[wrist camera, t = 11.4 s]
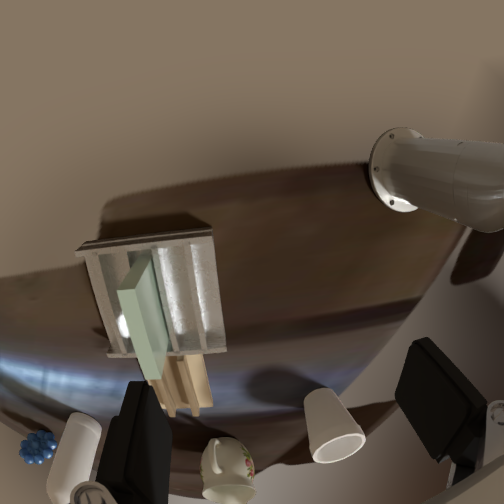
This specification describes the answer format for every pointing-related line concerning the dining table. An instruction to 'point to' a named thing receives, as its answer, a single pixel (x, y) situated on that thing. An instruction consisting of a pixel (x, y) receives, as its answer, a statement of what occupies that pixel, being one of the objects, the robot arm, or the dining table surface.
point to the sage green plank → (145, 316)
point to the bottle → (73, 457)
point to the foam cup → (330, 427)
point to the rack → (162, 288)
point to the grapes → (38, 447)
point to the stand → (183, 384)
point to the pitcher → (227, 472)
